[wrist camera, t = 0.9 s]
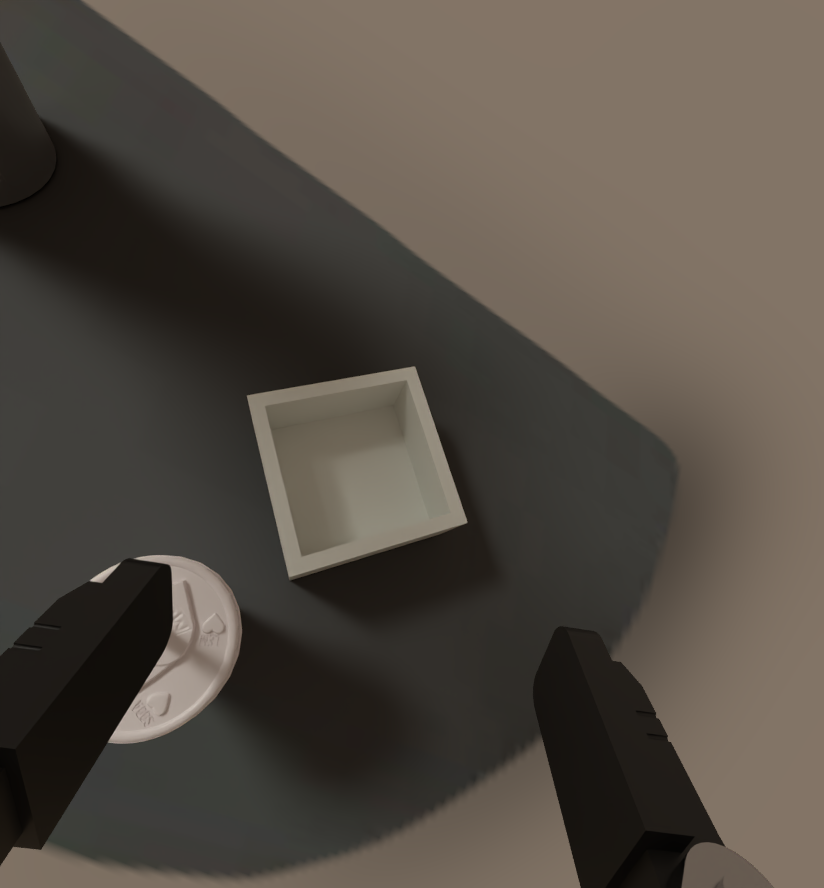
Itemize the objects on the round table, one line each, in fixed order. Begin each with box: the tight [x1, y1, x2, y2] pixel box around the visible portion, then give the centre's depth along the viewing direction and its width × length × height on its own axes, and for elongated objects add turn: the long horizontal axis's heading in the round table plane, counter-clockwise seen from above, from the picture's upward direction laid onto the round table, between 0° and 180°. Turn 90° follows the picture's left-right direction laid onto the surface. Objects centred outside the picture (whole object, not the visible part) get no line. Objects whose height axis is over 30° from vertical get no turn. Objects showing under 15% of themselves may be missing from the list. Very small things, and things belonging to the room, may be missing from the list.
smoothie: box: [90, 555, 242, 743], centre depth 19 cm, size 6×6×14 cm
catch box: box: [247, 367, 468, 580], centre depth 28 cm, size 10×10×5 cm
